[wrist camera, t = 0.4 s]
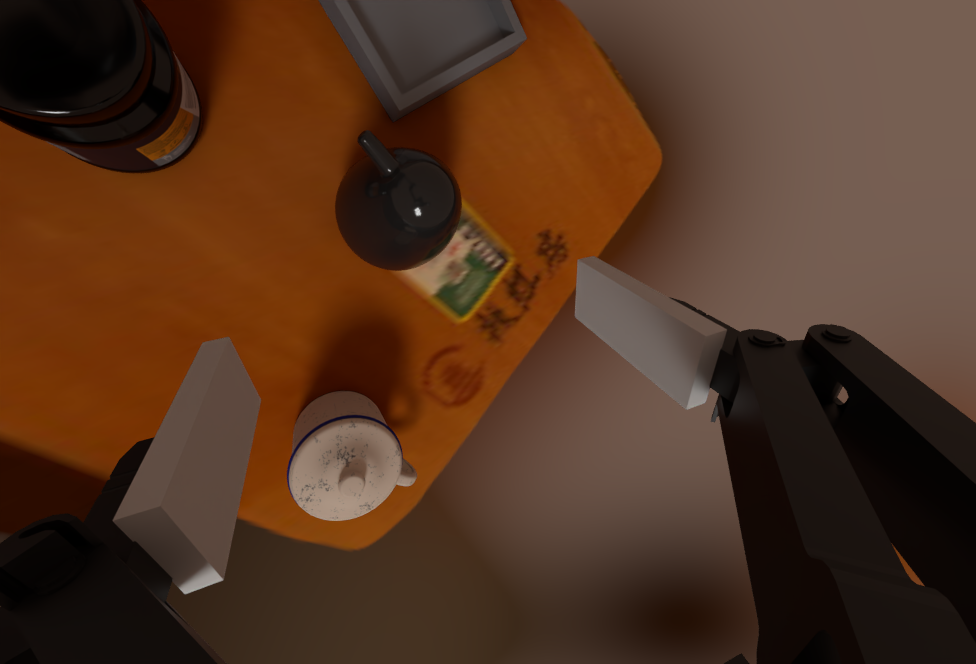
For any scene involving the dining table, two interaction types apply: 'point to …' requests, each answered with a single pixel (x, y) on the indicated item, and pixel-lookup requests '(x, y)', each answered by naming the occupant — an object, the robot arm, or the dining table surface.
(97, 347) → the dining table surface
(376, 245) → the pump dispenser
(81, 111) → the supplement container
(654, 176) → the dining table surface
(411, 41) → the tray
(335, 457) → the teacup with lid
